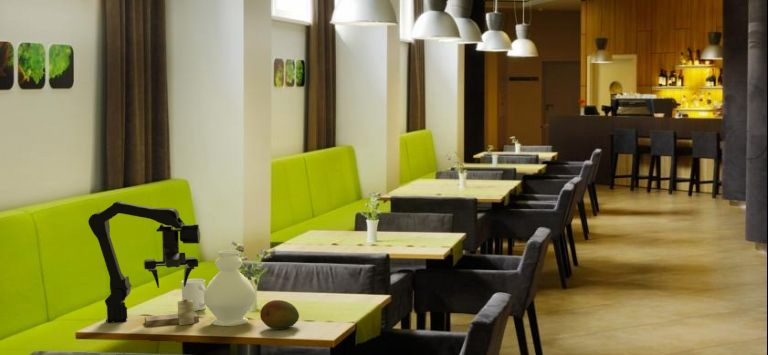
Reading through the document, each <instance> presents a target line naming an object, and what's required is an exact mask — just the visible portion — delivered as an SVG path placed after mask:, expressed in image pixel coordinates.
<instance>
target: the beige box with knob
mask: <svg viewBox="0 0 768 355" xmlns="http://www.w3.org/2000/svg"><path fill="white" fill-rule="evenodd" d="M194 313H195V311H194V305H193V301H192V300H188V301H187V299H185V300H183V301H182V300H179V301H177V314H178V323H179V324H178V325H179V326H183V325H184V326H186V325H193V324H195V322H194Z"/></svg>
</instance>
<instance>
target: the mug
mask: <svg viewBox="0 0 768 355" xmlns="http://www.w3.org/2000/svg"><path fill="white" fill-rule="evenodd" d="M180 284H181V301H183V300H185V299H187V301H188V300H192V301H193V305H194V312H198V310H200V311H203V310H205V309H206V308H207V306H206V304H205V302H204V292H205V289H206V280H205V279H204V278H188V279H187V282H186V285H185V287H184V279H183V280H181V283H180Z"/></svg>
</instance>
